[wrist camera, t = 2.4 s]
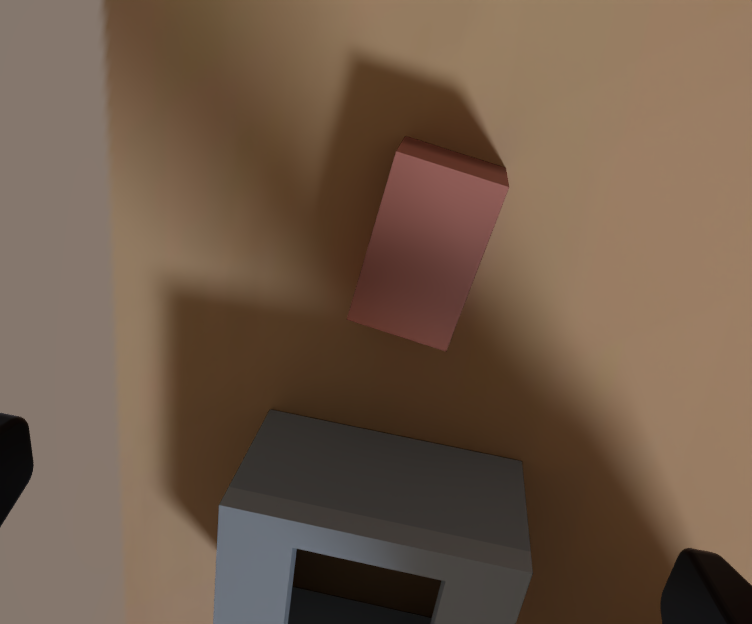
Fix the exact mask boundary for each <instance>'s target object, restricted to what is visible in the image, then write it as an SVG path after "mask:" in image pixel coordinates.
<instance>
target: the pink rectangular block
mask: <svg viewBox="0 0 752 624" xmlns="http://www.w3.org/2000/svg"><path fill="white" fill-rule="evenodd" d="M508 189H509V183H508V178H507V172H506V168H505V167H501V166H498V165H495V164H492V163H489V162H486V161H483V160H479V159H476V158H473V157H470V156H467V155H464V154H461V153H457V152H454V151H451V150H448V149H445V148H442V147H439V146H435V145H432V144H429V143H426V142H423V141H420V140H417V139H414V138H410V137H407V136H405V137H404V139H403V141H402V142H401V144H400V146H399V147H398V149H397V151H396V153H395V157H394V160H393V164H392V167H391V170H390V174H389V177H388V181H387V184H386V187H385V191H384V194H383V198H382V201H381V204H380V208H379V211H378V215H377V218H376V221H375V225H374V228H373V232H372V235H371V238H370V242H369V245H368V249H367V252H366V255H365V259H364V262H363V266H362V269H361V272H360V276H359V279H358V283H357V286H356V289H355V293H354V296H353V300H352V303H351V306H350V310H349V313H348V317H347V320H350V321H353V322H356V323H359V324H362V325H365V326H368V327H371V328H374V329H378V330H381V331H384V332H387V333H390V334H393V335H396V336H399V337H402V338H406V339H409V340H412V341H415V342H418V343H421V344H424V345H427V346H430V347H434V348H437V349H440V350H443V351H447V348H448V346H449V343H450V340H451V338H452V335H453V333H454V330H455V327H456V325H457V322H458V320H459V317H460V314H461V312H462V309H463V307H464V304H465V301H466V299H467V296H468V293H469V291H470V288H471V286H472V283H473V280H474V278H475V275H476V273H477V270H478V267H479V265H480V262H481V260H482V257H483V254H484V252H485V249H486V246H487V244H488V241H489V239H490V236H491V233H492V231H493V228H494V226H495V223H496V220H497V218H498V215H499V213H500V210H501V207H502V205H503V202H504V199H505V197H506V194H507V192H508Z"/></svg>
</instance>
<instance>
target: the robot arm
mask: <svg viewBox="0 0 752 624" xmlns="http://www.w3.org/2000/svg"><path fill="white" fill-rule="evenodd" d="M32 472H33V456H32V448H31V441H30V433H29V426H28V423H27V422H26V420H25V419H23V418H22V417H19V416H14V415H8V414H4V413H0V527H1V525H2V524H3V522H4V520H5V519H6V517H7V516H8V514H9V512H10V511H11V509H12V508H13V506H14V504H15V503H16V501H17V500H18V498H19V497H20V495H21V493H22V492H23V490H24V489H25V487H26V485H27V484H28V482H29V480H30V478H31V475H32ZM661 617H662V624H752V585H751V584H750V583H748V582H747V581H746V580H745V579H744V578H743V577H742V576H741V575H740V574H739V573H738V572H737V571H736V570H735V569H734V568H733V567H732V566H731V565H730V564H729V563H728V562H726V561H725V560H724V559H723V558H722V557H721V556H720V555H718V554H716V553H713V552H708V551H702V550H697V549H692V548H687V549H684V550H682V551H681V552H680V554H679V556H678V558H677V560H676V562H675V565H674V567H673V569H672V571H671V574H670V576H669V578H668V580H667V583H666V585H665V587H664V590H663V592H662V597H661Z"/></svg>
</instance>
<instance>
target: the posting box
mask: <svg viewBox="0 0 752 624" xmlns="http://www.w3.org/2000/svg"><path fill="white" fill-rule="evenodd" d="M297 549H301V550H306V551H310V552H315V553H319V554H324V555H328V556H333V557H337V558H342V559H346V560H351V561H355V562H360V563H365V564H369V565H374V566H378V567H383V568H387V569H392V570H396V571H401V572H405V573H410V574H414V575H419V576H423V577H428V578H432V579H437V580H442V581H441V585H440V589H439V592H438V596H437V600H436V604H435V608H434V612H433V616H432V618H429V617H424V616H420V615H415V614H411V613H407V612H402V611H398V610H393V609H389V608H384V607H380V606H375V605H371V604H367V603H362V602H358V601H353V600H349V599H344V598H340V597H335V596H331V595H327V594H322V593H318V592H313V591H309V590H304V589H300V588H295V587H292V585H293V576H294V568H295V560H296V551H297ZM532 574H533V570H532V560H531V549H530V539H529V529H528V518H527V508H526V498H525V487H524V477H523V467H522V461H518V460H513V459H508V458H503V457H499V456H494V455H489V454H484V453H479V452H474V451H469V450H465V449H460V448H455V447H450V446H445V445H440V444H435V443H431V442H426V441H421V440H416V439H411V438H406V437H401V436H396V435H392V434H387V433H382V432H377V431H372V430H367V429H362V428H358V427H353V426H348V425H343V424H338V423H333V422H328V421H324V420H319V419H314V418H309V417H304V416H299V415H294V414H290V413H285V412H280V411H275V410H269V412H268V414H267V416H266V418H265V420H264V422H263V423H262V425H261V427H260V429H259V431H258V433H257V435H256V437H255V438H254V440H253V442H252V444H251V446H250V448H249V450H248V452H247V453H246V455H245V457H244V459H243V461H242V463H241V465H240V467H239V468H238V470H237V472H236V474H235V476H234V478H233V480H232V482H231V483H230V485H229V487H228V489H227V491H226V493H225V495H224V497H223V498H222V500H221V502H220V504H219V516H218V536H217V557H216V578H215V599H214V619H213V624H516V621H517V618H518V615H519V612H520V609H521V606H522V604H523V601H524V598H525V595H526V592H527V589H528V586H529V583H530V580H531V577H532Z"/></svg>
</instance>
